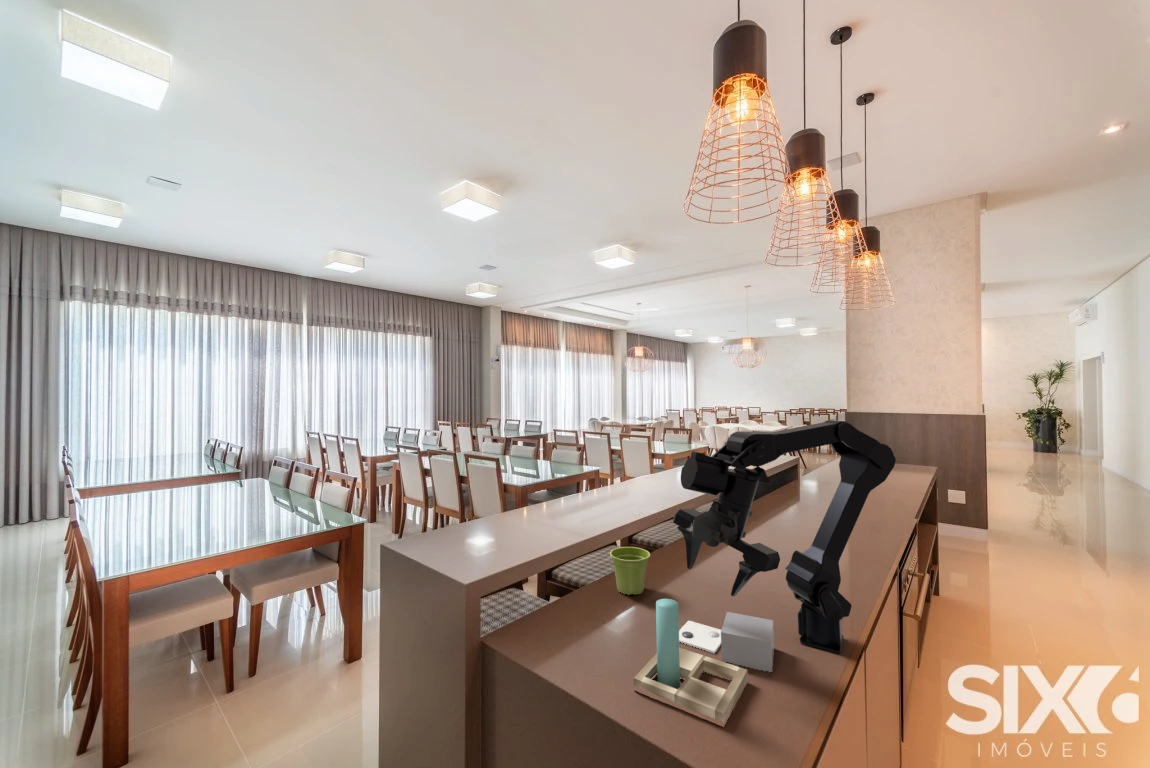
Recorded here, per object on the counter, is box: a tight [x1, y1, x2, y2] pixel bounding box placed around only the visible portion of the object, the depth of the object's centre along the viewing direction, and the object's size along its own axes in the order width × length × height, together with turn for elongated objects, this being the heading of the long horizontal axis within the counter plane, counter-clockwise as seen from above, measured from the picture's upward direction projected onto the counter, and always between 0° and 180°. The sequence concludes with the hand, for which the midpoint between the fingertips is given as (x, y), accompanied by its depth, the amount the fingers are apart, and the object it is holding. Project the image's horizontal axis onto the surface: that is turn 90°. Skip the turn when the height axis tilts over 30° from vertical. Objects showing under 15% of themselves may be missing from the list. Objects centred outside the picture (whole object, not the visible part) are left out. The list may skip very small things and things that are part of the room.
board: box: [633, 647, 749, 723], centre depth 72 cm, size 14×12×2 cm
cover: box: [720, 611, 775, 673], centre depth 81 cm, size 8×8×5 cm
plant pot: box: [609, 546, 651, 596], centre depth 108 cm, size 9×9×9 cm
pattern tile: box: [679, 620, 722, 654], centre depth 87 cm, size 8×8×1 cm
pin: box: [655, 598, 681, 689], centre depth 72 cm, size 4×4×13 cm
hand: (710, 581), depth 83 cm, fingers open, 9 cm apart
